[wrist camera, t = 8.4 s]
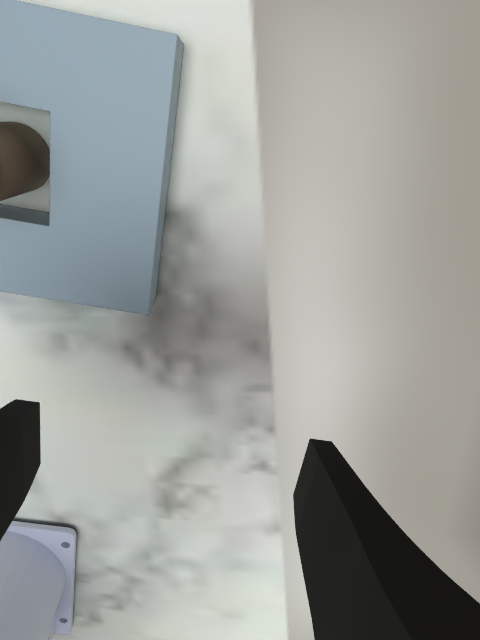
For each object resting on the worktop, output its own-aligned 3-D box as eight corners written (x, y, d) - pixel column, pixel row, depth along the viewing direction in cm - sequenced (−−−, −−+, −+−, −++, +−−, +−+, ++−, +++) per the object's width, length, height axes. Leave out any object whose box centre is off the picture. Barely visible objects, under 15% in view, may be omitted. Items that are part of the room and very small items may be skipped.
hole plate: (155, 297, 20) (147, 314, 18) (-122, 252, 19) (-160, 265, 17) (183, 44, 16) (177, 34, 14) (-166, -30, 15) (-221, -51, 13)
